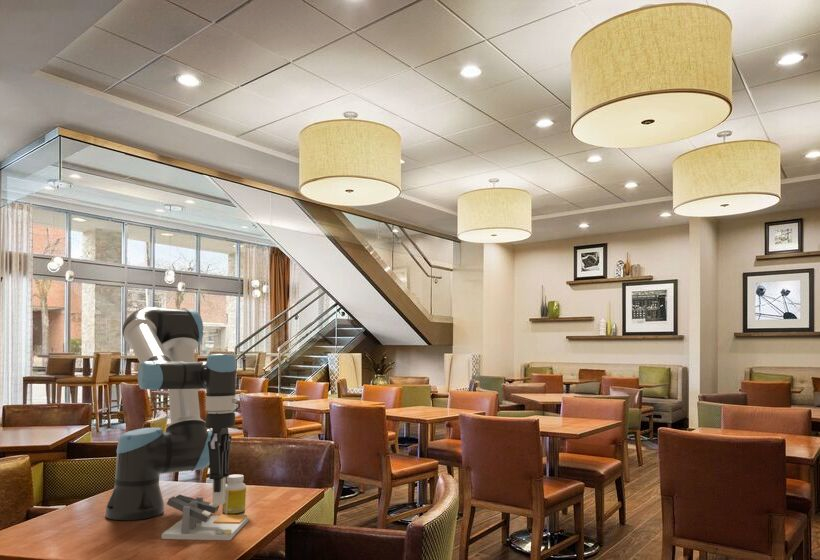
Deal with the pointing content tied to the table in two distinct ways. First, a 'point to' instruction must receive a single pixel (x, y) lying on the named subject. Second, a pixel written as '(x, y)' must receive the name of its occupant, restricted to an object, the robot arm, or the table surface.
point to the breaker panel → (205, 526)
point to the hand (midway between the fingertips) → (218, 503)
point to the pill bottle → (234, 496)
